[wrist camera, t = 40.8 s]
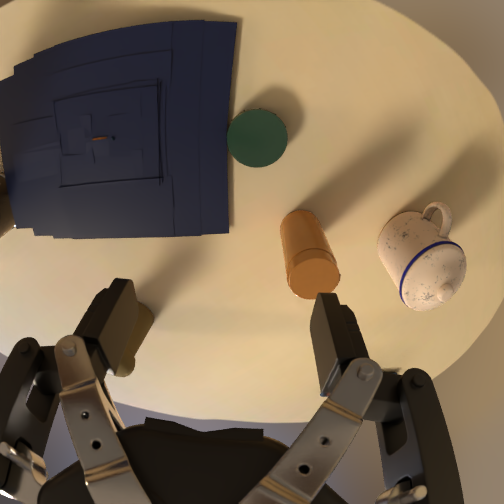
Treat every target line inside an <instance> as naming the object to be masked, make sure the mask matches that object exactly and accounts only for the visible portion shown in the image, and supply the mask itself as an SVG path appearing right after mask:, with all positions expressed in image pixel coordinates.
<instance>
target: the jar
mask: <svg viewBox="0 0 504 504" xmlns="http://www.w3.org/2000/svg"><path fill="white" fill-rule="evenodd" d="M280 234H281V241H282V247H283V254H284V261H285V268H286V274H287V282H288V285H289V287H290V289H291V290H292V291H293V293H294V294H296V295H297V296H299V297H301V298H304V299H316V297H317V294H318V293H319V292H321V293H331V292H332V291H333V290H334V289H335V287H336V286H337V285H338V283H339V281H340V276H341V274H339V270H338V267H337V263H336V260H335V257H334V255H333V252H332V250H331V248H330V245H329V243H328V240H327V238H326V236H325V233H324V231H323V229H322V227H321V224H320V222H319V220H318V218H317V217H316V216H315V215H314V214H313V213H311V212H309V211H304V210H298V211H294V212H292V213H290V214H288V215H287V216H286V217H285V218H284V219H283V221H282V223H281V226H280Z"/></svg>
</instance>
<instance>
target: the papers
mask: <svg viewBox="0 0 504 504" xmlns="http://www.w3.org/2000/svg"><path fill="white" fill-rule="evenodd" d="M236 28H237V23H236V22H218V21H204V20H186V21H168V22H159V23H150V24H143V25H136V26H130V27H125V28H119V29H114V30H109V31H105V32H100V33H96V34H92V35H88V36H84V37H81V38H77V39H74V40H70V41H67V42H64V43H61V44H58V45H55V46H54V47H51V48H48V49H46V50H43V51H41V52H38V53H36V54H34V58H31V59H29V60H27V61H24V62H22V63H20V64H18V65H16V66H14V75H13V76H10V77H8V78H6V79H4V80H2V81H0V146H1V154H2V161H3V168H4V174H5V180H6V185H7V191H8V195H9V200H10V205H11V209H12V213H13V217H14V221H15V225H16V229H20V228H33V231H34V235H35V236H53V238H73V239H96V238H141V237H179V236H201V235H204V234H224V233H229V217H228V179H227V136H226V133H227V120H228V108H229V96H230V85H231V75H232V65H233V55H234V46H235V37H236Z"/></svg>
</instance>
